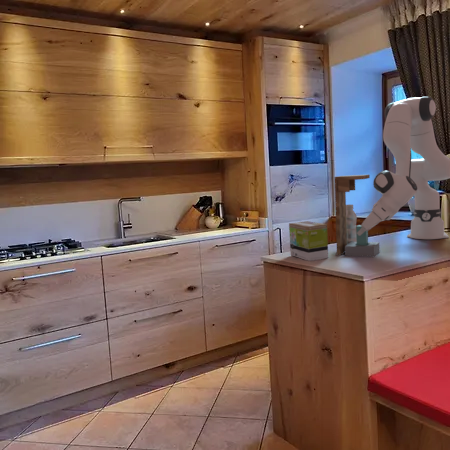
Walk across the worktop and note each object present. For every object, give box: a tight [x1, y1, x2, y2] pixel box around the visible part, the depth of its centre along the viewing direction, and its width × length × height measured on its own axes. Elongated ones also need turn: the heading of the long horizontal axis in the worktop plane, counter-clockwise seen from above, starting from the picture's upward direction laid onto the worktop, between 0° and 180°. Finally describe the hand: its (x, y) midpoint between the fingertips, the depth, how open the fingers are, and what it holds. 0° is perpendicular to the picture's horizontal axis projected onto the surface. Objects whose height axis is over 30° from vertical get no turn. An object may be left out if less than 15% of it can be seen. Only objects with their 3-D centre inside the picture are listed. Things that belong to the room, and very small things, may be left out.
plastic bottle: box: [346, 204, 358, 244], centre depth 210 cm, size 6×7×20 cm
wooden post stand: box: [334, 174, 371, 256], centre depth 196 cm, size 12×12×34 cm
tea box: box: [288, 220, 329, 262], centre depth 195 cm, size 15×10×15 cm
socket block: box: [344, 241, 381, 257], centre depth 196 cm, size 12×12×4 cm
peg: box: [356, 224, 369, 245], centre depth 196 cm, size 4×4×12 cm
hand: (360, 233), depth 196 cm, fingers open, 7 cm apart
